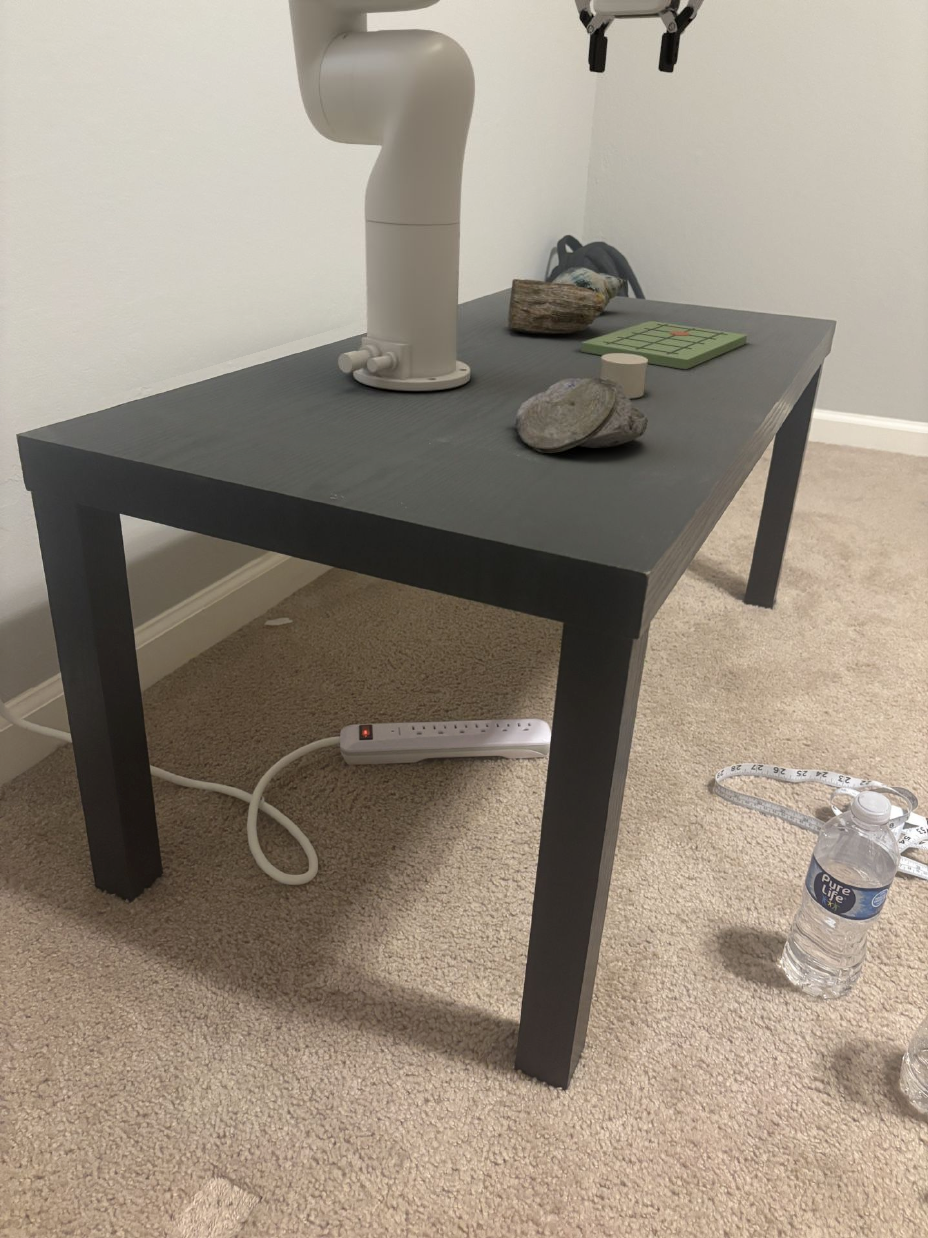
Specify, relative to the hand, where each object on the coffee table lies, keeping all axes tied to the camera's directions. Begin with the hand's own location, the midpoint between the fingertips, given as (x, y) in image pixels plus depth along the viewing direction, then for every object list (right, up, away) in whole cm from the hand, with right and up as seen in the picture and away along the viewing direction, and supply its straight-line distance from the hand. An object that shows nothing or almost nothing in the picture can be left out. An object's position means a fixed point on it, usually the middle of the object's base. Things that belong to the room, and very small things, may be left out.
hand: (630, 71), depth 115 cm
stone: (-9, -31, +8) cm, 33 cm away
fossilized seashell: (-11, -55, -36) cm, 66 cm away
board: (+5, -35, +1) cm, 35 cm away
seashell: (-4, -23, +22) cm, 32 cm away
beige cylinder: (-5, -46, -20) cm, 51 cm away
